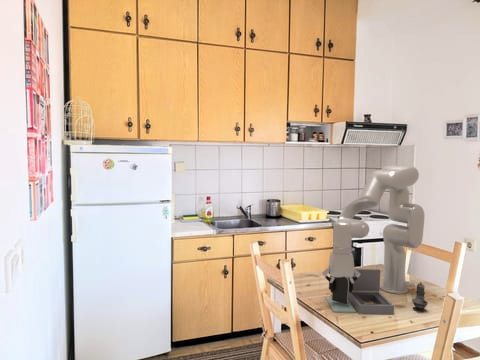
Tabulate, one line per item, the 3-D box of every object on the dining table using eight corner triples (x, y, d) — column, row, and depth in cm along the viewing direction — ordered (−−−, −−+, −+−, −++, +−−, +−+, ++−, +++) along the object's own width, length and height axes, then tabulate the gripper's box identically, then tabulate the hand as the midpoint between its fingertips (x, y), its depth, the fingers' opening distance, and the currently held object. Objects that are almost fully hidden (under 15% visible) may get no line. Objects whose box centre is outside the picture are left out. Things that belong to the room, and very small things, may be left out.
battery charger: (350, 302, 150) (351, 275, 150) (346, 305, 147) (348, 278, 146) (334, 297, 155) (335, 272, 154) (331, 300, 152) (332, 274, 151)
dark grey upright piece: (409, 306, 151) (410, 279, 150) (423, 306, 151) (424, 279, 150) (415, 312, 145) (417, 284, 144) (430, 313, 145) (431, 284, 144)
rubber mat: (345, 299, 158) (345, 297, 158) (355, 312, 144) (355, 311, 144) (325, 298, 158) (325, 297, 158) (333, 312, 144) (333, 310, 144)
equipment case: (378, 298, 159) (379, 269, 158) (393, 314, 143) (395, 281, 142) (347, 298, 159) (348, 268, 158) (359, 313, 143) (360, 281, 142)
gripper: (359, 248, 153) (358, 288, 154) (319, 247, 153) (318, 287, 154) (365, 253, 146) (364, 295, 147) (323, 252, 146) (322, 294, 147)
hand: (340, 291), depth 151 cm, fingers closed on battery charger, 7 cm apart
